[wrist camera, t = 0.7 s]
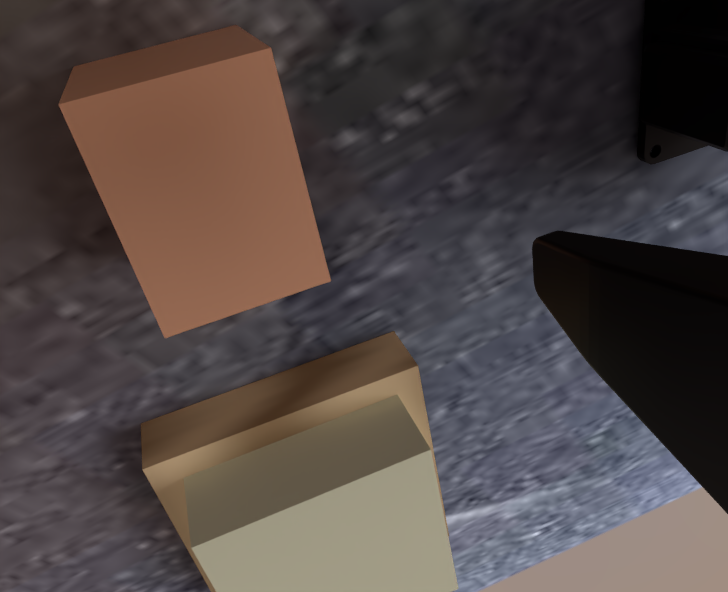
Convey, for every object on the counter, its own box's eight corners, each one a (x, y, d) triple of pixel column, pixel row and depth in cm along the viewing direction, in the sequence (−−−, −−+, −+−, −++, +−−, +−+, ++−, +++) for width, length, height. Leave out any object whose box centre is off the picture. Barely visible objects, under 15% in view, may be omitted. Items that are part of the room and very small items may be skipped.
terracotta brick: (235, 24, 17) (270, 47, 13) (288, 214, 21) (331, 281, 17) (73, 66, 17) (58, 104, 13) (155, 257, 20) (164, 338, 16)
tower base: (388, 323, 25) (417, 365, 22) (422, 487, 30) (449, 536, 28) (140, 413, 23) (142, 469, 21) (223, 570, 28) (232, 629, 26)
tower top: (397, 394, 23) (430, 449, 20) (427, 529, 27) (458, 588, 24) (183, 477, 21) (191, 548, 19) (251, 606, 26) (265, 676, 23)
